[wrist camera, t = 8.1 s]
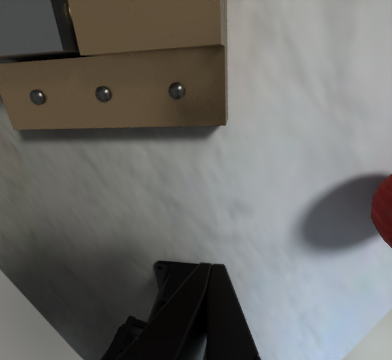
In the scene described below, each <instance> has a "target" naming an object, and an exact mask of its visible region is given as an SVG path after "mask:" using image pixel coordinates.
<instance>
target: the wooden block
mask: <svg viewBox="0 0 392 360" xmlns="http://www.w3.org/2000/svg"><path fill="white" fill-rule="evenodd" d="M68 3H69V8H70V12H71V16H72V21H73V25H74V29H75V34H76V38H77V43H78V47H79V51H80V55H89V56H93V57H81V58H68V59H55V60H42V61H30V62H17V63H4V64H0V94H1V97H2V100H3V103H4V105H5V108H6V111H7V113H8V116H9V119H10V121H11V124H12V127H13V129H14V130H28V129H76V128H124V127H172V126H220V125H226V123H227V120H228V87H227V0H68Z"/></svg>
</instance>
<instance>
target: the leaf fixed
mask: <svg viewBox="0 0 392 360" xmlns="http://www.w3.org/2000/svg"><path fill="white" fill-rule="evenodd" d="M76 54H80V51H79V47H78V43H77V38H76V34H75V29H74V25H73V21H72V16H71V12H70V8H69V3H68V0H0V60H14V59H26V58H39V57H51V56H63V55H76Z"/></svg>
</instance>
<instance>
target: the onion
mask: <svg viewBox="0 0 392 360" xmlns="http://www.w3.org/2000/svg"><path fill="white" fill-rule="evenodd" d="M371 219H372V221H373V223H374V225H375V227H376V229H377V230H378V232H379V233H380V235H381V237H382V238H383V240H384V241H385V242H386V243H387V244H388V245H389V246H390V247H391V248H392V174H391V175H390V176H389V177H387V178H386V179H385V180H384V181H383V182H382V183H381V184H380V185H379V187H378V189H377V190H376V192H375V194H374V195H373V200H372V209H371Z"/></svg>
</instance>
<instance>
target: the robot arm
mask: <svg viewBox="0 0 392 360" xmlns="http://www.w3.org/2000/svg"><path fill="white" fill-rule="evenodd" d="M160 266H161V267H160ZM155 271H156V277H157V283H158V288H159V292H158V295H157V297H156V300H155V303H154V305H153V308H152V311H151V313H150V316H149V319H148V322H144V321H141V320H138V319H136V317H133V316H129V317H128V319H127V321H126V323H125V324H122V326H121V327H119V329H118V331H117V333H116V335H115V337H114V339H113V341H112V343H111V345H110V347H109V349H108V350H107V351H106V353H105V354H104V356H103V357H102V358H101V360H261V358H260V356H259V353H258V351H257V348H256V345H255V343H254V340H253V338H252V335H251V332H250V330H249V327H248V324H247V322H246V319H245V316H244V314H243V311H242V309H241V306H240V303H239V301H238V298H237V295H236V293H235V290H234V288H233V285H232V282H231V280H230V277H229V274H228V272H227V269H226V267H225V265H224V264H213V265H212V264H211V263H200V264H190V263H178V262H166V261H158V262H157V263H156V265H155Z"/></svg>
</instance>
